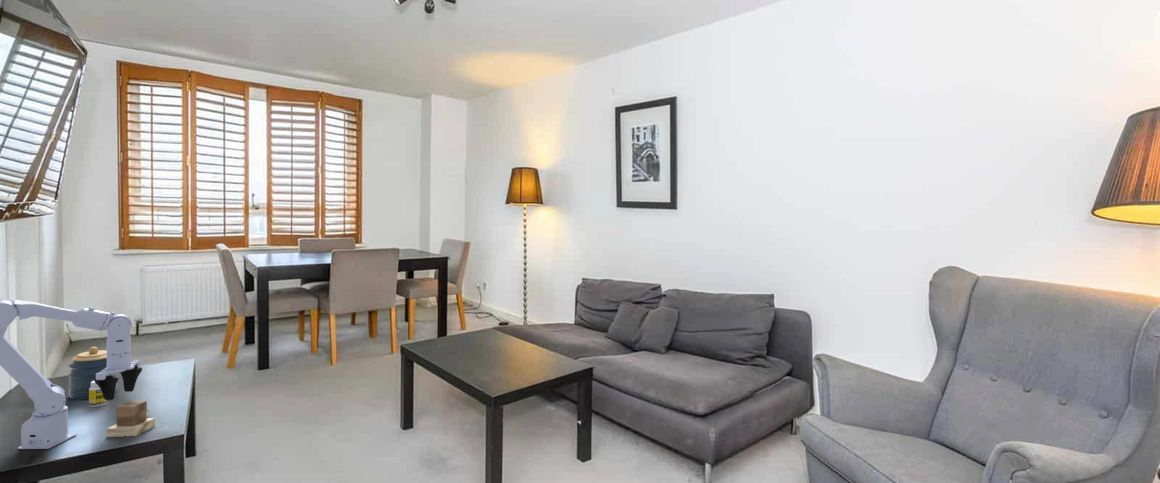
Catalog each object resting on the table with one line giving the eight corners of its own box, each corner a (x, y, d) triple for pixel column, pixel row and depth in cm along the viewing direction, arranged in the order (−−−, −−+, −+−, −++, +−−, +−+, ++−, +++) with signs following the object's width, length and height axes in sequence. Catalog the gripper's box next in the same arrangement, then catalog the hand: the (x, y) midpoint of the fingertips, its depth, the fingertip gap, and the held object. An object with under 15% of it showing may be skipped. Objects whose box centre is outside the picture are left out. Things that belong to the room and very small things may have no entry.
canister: (90, 401, 181) (90, 352, 181) (58, 398, 183) (58, 350, 182) (126, 389, 194) (126, 343, 194) (96, 387, 196) (96, 341, 195)
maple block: (135, 437, 155) (135, 428, 155) (106, 438, 154) (107, 428, 154) (154, 427, 163) (154, 418, 163) (127, 427, 162) (127, 418, 162)
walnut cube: (133, 425, 157) (133, 406, 156) (116, 425, 156) (116, 406, 156) (146, 419, 162) (146, 401, 161) (130, 419, 161) (130, 400, 161)
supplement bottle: (95, 407, 176) (95, 383, 176) (85, 406, 177) (85, 382, 177) (111, 403, 181) (111, 379, 180) (100, 401, 182) (100, 378, 181)
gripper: (113, 359, 153) (114, 403, 154) (150, 347, 167) (150, 387, 168) (88, 359, 152) (88, 403, 153) (127, 346, 167) (127, 387, 167)
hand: (119, 395), depth 160 cm, fingers open, 7 cm apart
